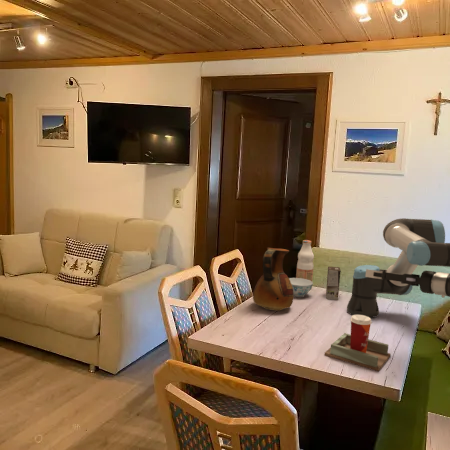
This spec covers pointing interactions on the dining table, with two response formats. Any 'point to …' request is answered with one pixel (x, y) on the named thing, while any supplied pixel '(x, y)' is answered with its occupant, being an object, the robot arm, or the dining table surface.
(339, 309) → the dining table surface
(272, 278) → the ceramic pitcher
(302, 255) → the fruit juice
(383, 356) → the bay
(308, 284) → the chinaware
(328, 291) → the coffee box
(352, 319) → the paper cup
